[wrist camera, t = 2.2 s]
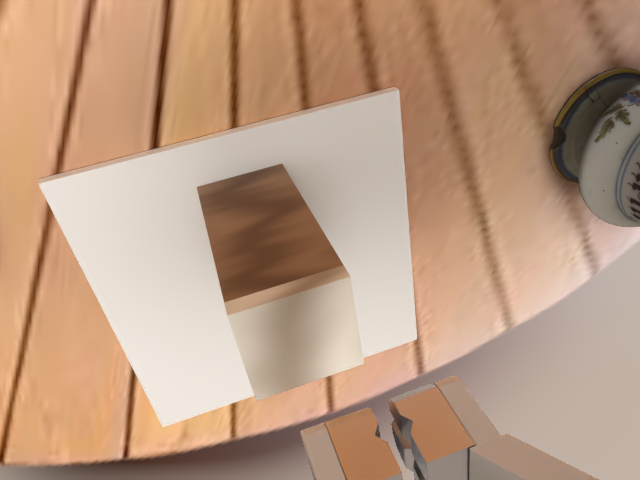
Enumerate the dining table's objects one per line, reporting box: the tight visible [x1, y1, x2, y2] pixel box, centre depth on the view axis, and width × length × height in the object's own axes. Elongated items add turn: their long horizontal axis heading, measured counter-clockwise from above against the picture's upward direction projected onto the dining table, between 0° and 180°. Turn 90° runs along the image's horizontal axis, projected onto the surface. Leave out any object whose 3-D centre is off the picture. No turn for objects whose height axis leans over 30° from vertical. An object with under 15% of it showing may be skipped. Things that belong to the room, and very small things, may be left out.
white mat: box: [38, 87, 417, 427], centre depth 41 cm, size 24×24×1 cm
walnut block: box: [197, 164, 364, 401], centre depth 32 cm, size 6×6×14 cm
